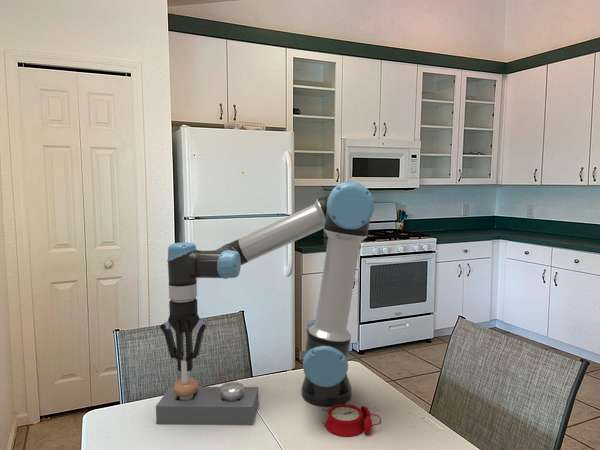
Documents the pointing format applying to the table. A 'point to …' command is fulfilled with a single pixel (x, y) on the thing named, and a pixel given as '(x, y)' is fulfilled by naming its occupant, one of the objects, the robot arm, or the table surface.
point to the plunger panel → (207, 408)
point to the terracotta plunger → (186, 389)
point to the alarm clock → (349, 420)
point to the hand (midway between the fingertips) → (185, 381)
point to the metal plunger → (232, 391)
